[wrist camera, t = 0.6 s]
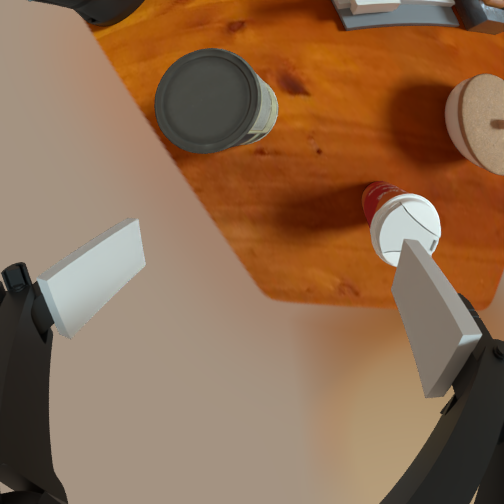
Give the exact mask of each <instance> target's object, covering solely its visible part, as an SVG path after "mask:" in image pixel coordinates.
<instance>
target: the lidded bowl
mask: <svg viewBox="0 0 504 504" xmlns="http://www.w3.org/2000/svg"><path fill="white" fill-rule="evenodd" d="M445 122H446V127H447V130H448V134H449V136H450V138H451V140H452V142H453V143H454V145H455V146H456V148H457V149H458V150H459V152H460V153H461V154H462V155H463V156H464V157H465V158H467V159H468V160H469V161H470V162H472V163H474V164H475V165H477V166H479V167H481V168H483V169H486V170H487V171H489V172H491V173H494V174H497V175H504V80H502V79H501V78H499V77H497V76H495V75H491V74H480V75H476V76H474V77H472V78H469V79H467V80H464V81H462V82H461V83H459V84H458V85H457V86H456V87H455V88H454V89H453V90H452V91H451V93H450V95H449V96H448V99H447V102H446V106H445Z"/></svg>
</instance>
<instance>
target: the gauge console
mask: <svg viewBox="0 0 504 504" xmlns="http://www.w3.org/2000/svg"><path fill="white" fill-rule="evenodd" d="M454 2H455V4H454V5H455V7H456V9H457V11H458V13H459V15H460V17H461V19H462V21H463V23H464V25H465V28H466V30H467V31H473V32H481V33H487V34H493V35H496V34H499V33H501V32H504V7H503V8H501V9H497V8H493V7H489V6H485V4H484V2H483V1H482V0H454Z"/></svg>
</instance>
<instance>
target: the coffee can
mask: <svg viewBox="0 0 504 504" xmlns="http://www.w3.org/2000/svg"><path fill="white" fill-rule="evenodd" d="M155 114H156V119H157V122H158V125H159V127H160V129H161V131H162V132H163V134H164V135H165V136H166V137H167V138H168V139H169V140H170V141H171V142H172V143H173V144H174V145H176V146H177V147H179V148H181V149H183V150H186V151H189V152H192V153H200V154H207V153H214V152H219V151H222V150H224V149H227V148H230V147H234V146H239V145H246V144H251V143H254V142H256V141H258V140H260V139H262V138H263V137H265V136H266V135H267V134H268V133H269V132H270V131H271V129H272V128H273V126H274V124H275V122H276V119H277V115H278V102H277V98H276V96H275V94H274V92H273V90H272V89H271V88H270V87H269V86H268V85H267V84H266V83H265V82H264V81H263V80H262V79H261V78H260V77H259V76H258V75H257V74H256V73H255V72H254V70H253V69H252V67H251V66H250V65H249V64H248V63H247V62H246V61H245V60H244V59H243V58H241V57H240V56H238V55H237V54H235V53H233V52H230V51H227V50H223V49H217V48H208V49H201V50H197V51H194V52H191V53H189V54H186V55H184V56H183V57H181V58H180V59H178V60H177V61H176V62H174V63H173V64H172V65H171V66H170V67H169V68H168V70H167V71H166V72H165V74H164V75H163V77H162V79H161V81H160V83H159V85H158V87H157V91H156V94H155Z"/></svg>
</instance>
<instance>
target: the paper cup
mask: <svg viewBox="0 0 504 504" xmlns="http://www.w3.org/2000/svg"><path fill="white" fill-rule="evenodd" d="M361 202H362V208H363V211H364V213H365V216H366V219H367V222H368V224H369V227H370V233H371V239H372V244H373V247H374V249H375V251H376V253H377V254H378V256H379V257H380V258H381V259H382V260H383V261H384V262H386V263H387V264H390V265H392V266H395V267H397V266H398V261H399V257H400V253H401V248H402V244H403V239H411V240H418V241H419V242H420V244H421V245H422V246H423V247H424V249H425V250H426V251H427V252H428V254H429V255H430V256H431V255H432V252H434V251H435V249H436V246H437V244H438V240H439V237H440V236H441V227H440V220H439V216H438V213H437V211H436V209H435V208H434V206H433V205H432V204H431V203H430V202H429V201H428V200H427V199H425V198H423V197H422V196H419V195H416V194H410V193H408V192H406V191H404V190H402V189H400V188H398V187H396V186H394V185H392V184H389V183H387V182H383V181H377V182H373V183H371V184H370V185H368V186H367V187H366V189H365V190H364V192H363V194H362V200H361Z"/></svg>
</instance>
